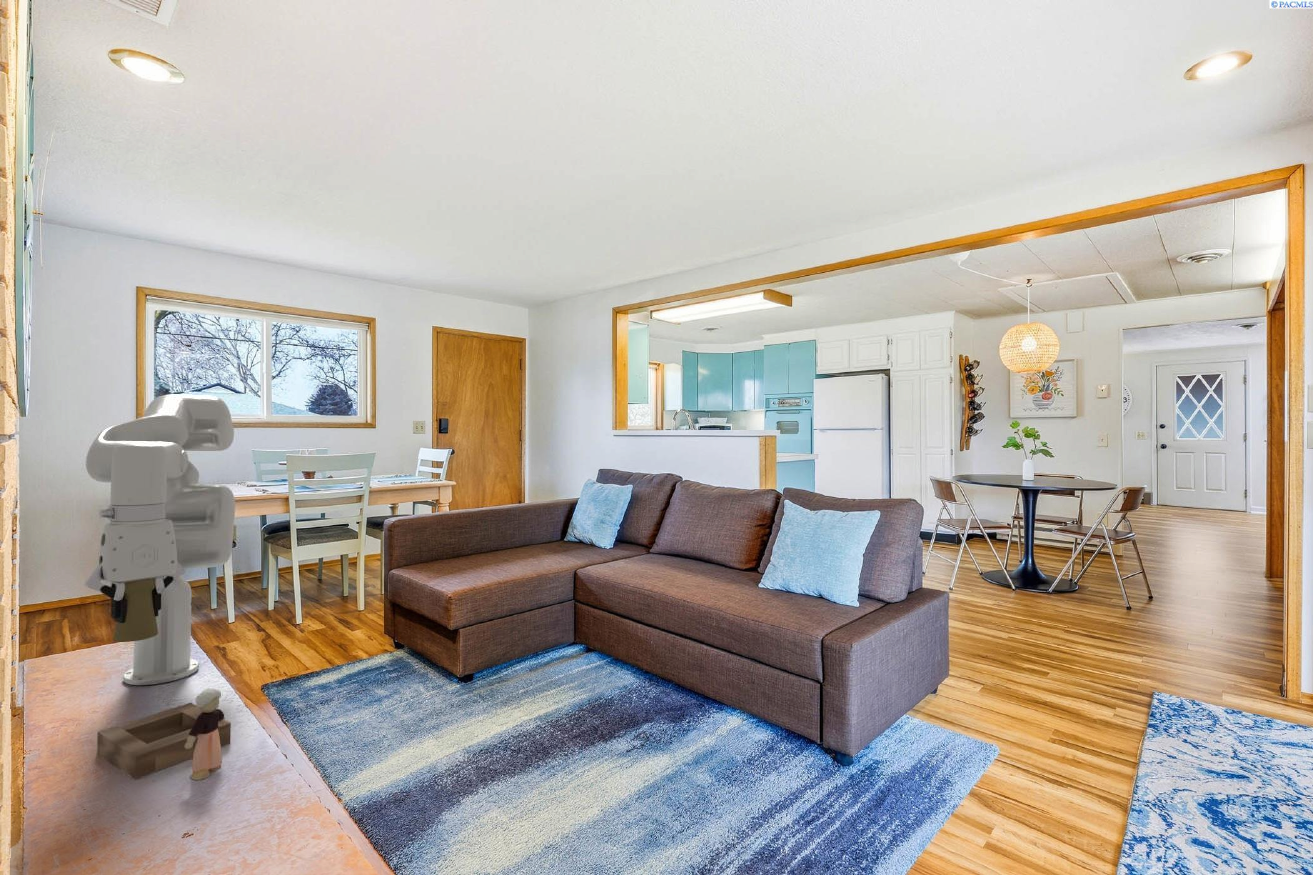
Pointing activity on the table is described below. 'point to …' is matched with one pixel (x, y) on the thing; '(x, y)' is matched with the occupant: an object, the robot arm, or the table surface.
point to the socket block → (153, 741)
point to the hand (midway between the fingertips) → (136, 617)
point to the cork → (138, 613)
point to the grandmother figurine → (206, 735)
